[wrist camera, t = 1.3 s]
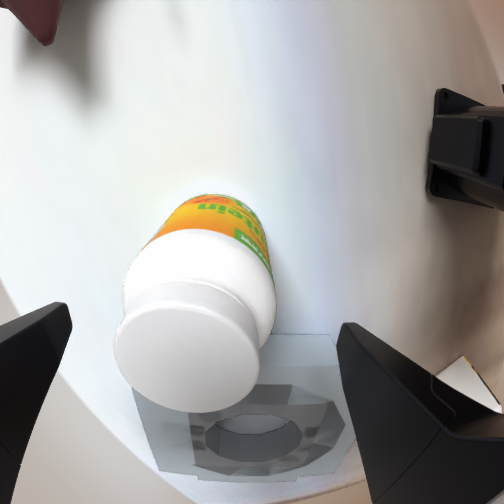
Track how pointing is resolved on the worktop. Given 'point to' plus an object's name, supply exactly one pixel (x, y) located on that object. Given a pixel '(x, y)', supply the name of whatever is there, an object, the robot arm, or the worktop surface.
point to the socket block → (263, 402)
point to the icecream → (37, 16)
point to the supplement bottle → (198, 307)
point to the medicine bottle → (469, 383)
